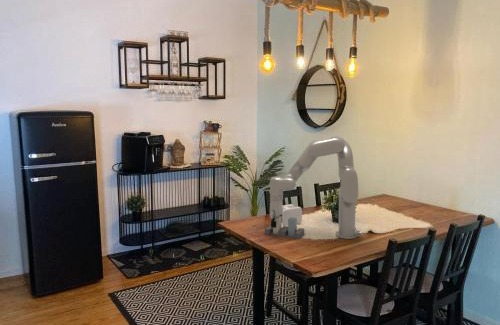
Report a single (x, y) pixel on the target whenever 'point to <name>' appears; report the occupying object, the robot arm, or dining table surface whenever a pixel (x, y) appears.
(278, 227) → the cream plug
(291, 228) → the slate plug
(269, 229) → the grey blocky pieces
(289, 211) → the cable organizer
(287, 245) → the dining table surface
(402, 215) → the dining table surface
